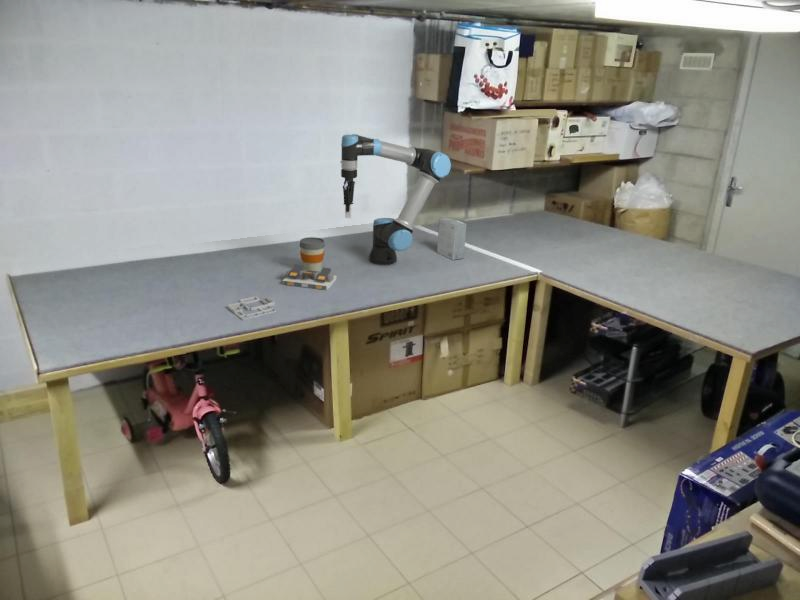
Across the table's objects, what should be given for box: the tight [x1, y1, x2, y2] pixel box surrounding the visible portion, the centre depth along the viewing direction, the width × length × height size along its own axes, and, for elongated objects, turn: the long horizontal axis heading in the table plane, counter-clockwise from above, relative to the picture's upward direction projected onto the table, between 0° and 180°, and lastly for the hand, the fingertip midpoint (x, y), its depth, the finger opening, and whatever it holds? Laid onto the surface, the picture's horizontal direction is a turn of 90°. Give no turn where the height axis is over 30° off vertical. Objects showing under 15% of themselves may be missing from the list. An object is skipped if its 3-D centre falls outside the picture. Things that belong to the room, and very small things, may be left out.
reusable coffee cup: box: [299, 236, 326, 272], centre depth 315 cm, size 12×13×15 cm
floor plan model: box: [226, 296, 277, 321], centre depth 271 cm, size 19×25×2 cm
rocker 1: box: [289, 264, 304, 279], centre depth 300 cm, size 5×10×1 cm, turn 169°
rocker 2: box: [317, 267, 332, 282], centre depth 298 cm, size 5×10×1 cm, turn 169°
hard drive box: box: [436, 217, 468, 261], centre depth 347 cm, size 16×8×20 cm, turn 34°
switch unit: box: [282, 267, 337, 291], centre depth 300 cm, size 22×16×5 cm
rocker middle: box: [302, 270, 317, 276], centre depth 299 cm, size 5×10×1 cm, turn 168°
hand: (348, 217), depth 302 cm, fingers closed
